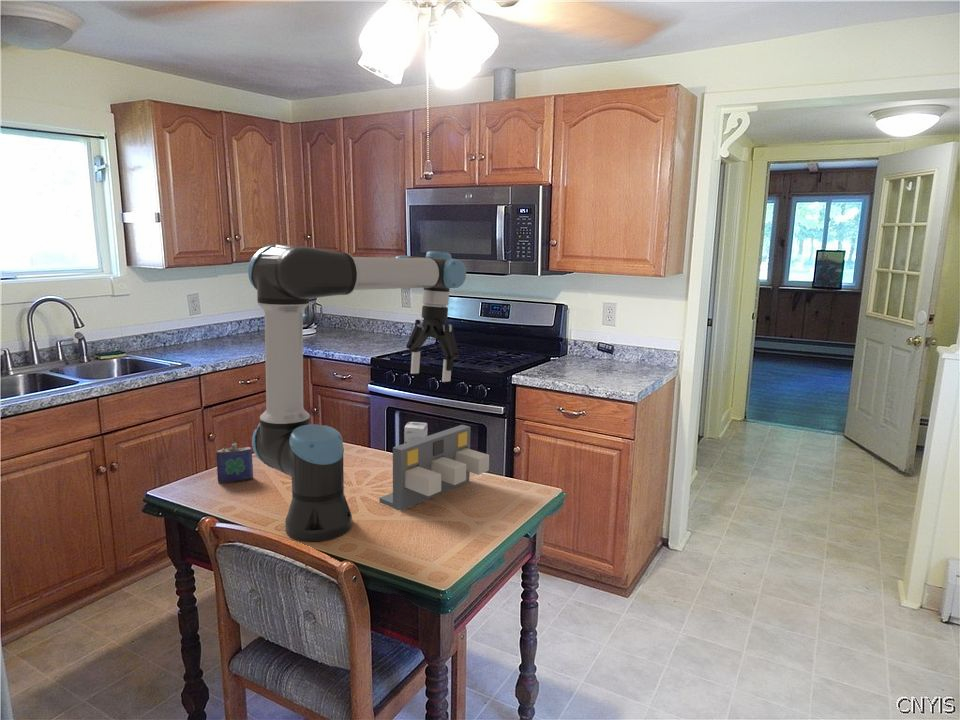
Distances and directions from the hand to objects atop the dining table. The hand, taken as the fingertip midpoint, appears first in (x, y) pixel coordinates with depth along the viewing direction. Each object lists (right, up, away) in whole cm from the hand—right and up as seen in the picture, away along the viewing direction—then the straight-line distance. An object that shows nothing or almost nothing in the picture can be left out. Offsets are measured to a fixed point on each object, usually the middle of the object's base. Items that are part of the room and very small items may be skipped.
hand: (430, 377), depth 187 cm
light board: (0, -30, -17) cm, 35 cm away
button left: (0, -27, -29) cm, 40 cm away
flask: (-53, -28, -12) cm, 61 cm away
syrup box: (-4, -28, -3) cm, 28 cm away
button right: (+12, -24, -15) cm, 31 cm away
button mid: (+6, -26, -22) cm, 34 cm away
